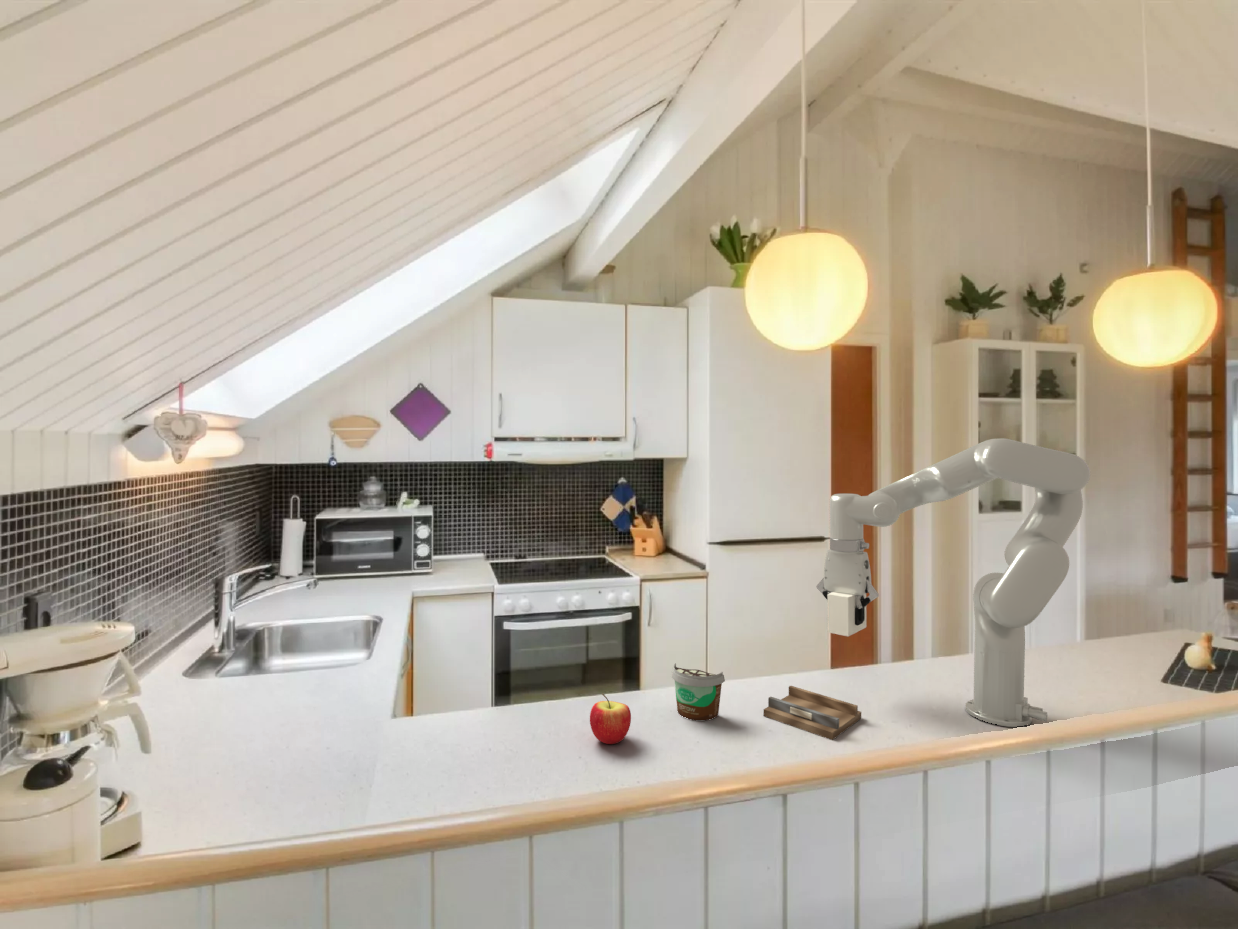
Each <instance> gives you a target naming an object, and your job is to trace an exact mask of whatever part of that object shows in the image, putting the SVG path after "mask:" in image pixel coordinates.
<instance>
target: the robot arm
mask: <svg viewBox="0 0 1238 929" xmlns="http://www.w3.org/2000/svg"><path fill="white" fill-rule="evenodd" d="M1090 478H1091V469H1090V467H1089V465H1088V463H1087V461H1085V460H1084V459H1083V458H1082V457H1081V456H1080V455H1077V454H1074V453H1071V452H1067V451H1061V450H1058V449H1057V450H1056V449H1052V448H1049V447H1048V448H1047V447H1043V446H1039V445H1034V444H1030V443H1026V442H1022V441H1018V440H1014V439H1009V438H991V439H985V440H984V441H982V442H979V443H977V444H974V445H972V446H970V447H968V448H966V449H964V450H961V451H960V452H957V453H956V454H953V455H951V456H949V457H947V458H945V459H942V460H940V461H938V462H935V463H934V464H931V465H929V466H927V467H924V468H922V469H920V470H919V471H917V472H914V473H912V474H910V475H908V476H906V477H903V478H901V479H899V480H896V481H894V482H891V483H890V484H888V485H885V486H884V487H881V488H879V489H877V490H875V491H873V492H871V493H869V494H868V495H862V496H861V495H860V494H858V493H834V494H832V495H831V496H830V499H829V549H828V550H827V551H826V556H825V559H824V560H825V561H824V569H823V578H822V579H821V580H820V581H819V583H818V584H817V585H816V589H817V590H818V591H819V592H820V593H821V594H822V595H823V597H824V598H825V600H827V594H829V593H832V592H838V593H844V594H851V595H855V602H856V605H857V608H855V625H860V624H862V623H863V621H864V619H865V606H866V607H867V606H868V605H869V604H870V603H871V602H872V601H874V600H875V599H877V598H878V597H880V594H879V593H878V591H877V590H876V589H875V587H874V586H873V584H872V574H871V573H872V572H871V566H870V564H871V563H870V559H869V555H868V552H867V551H865V549H866V550H867V549H868V550H869V549H870V543H869V542H866V541H865V539H864V525H865V526H866V525H867V526H873V527H881V528H883V527H884V528H885V527H886V528H887V527H890V526H892V525H894V524H895V523H896V522H897V521H898V520H899V518H900V515H901V514H903V513H905V512H907V511H910V510H913V509H915V508H918V507H921V506H924V505H926V504H931V503H939V502H944V501H945V502H946V501H947V500H948V501H949V500H951V499H954V498H957V497H958V496H960V495H962V494H964V493H966V492H969V491H971V490H974V489H976V488H978V487H980V486H982V485H983V486H984V485H986V484H988V483H989V482H990V483H991V482H992V481H994V480H997V479H1000V480H1004V481H1008V482H1012V483H1016V484H1019V485H1023V486H1027V487H1030V488H1034V492H1035V501H1034V505H1033V506H1032V508H1031V510H1030V511H1029V514H1028V515H1027V516H1026V518H1025V519H1024V521H1023V523H1022V524H1021V526H1020V527H1019V528H1018V529H1017V531H1016V533H1015V534H1014V535H1013V537H1012V538H1011V539H1010V541H1009V542H1008V544H1007V545H1006V546H1005V550H1004V560H1005V561H1006V563H1007V565H1008V567H1007V568H1006V569H1005V571H1004V572H991V573H990V572H989V573H987V574H985V575H983V576H981V577H980V578H979V579H978V581H977V582H976V583H975V586H974V589H973V594H972V595H973V597H972V600H973V611H974V658H973V659H974V660H973V661H974V663H973V667H974V668H973V699H970V700H968V701H966V703H965V712H967V714H968V715H970V716H971V717H973V718H975V717H976V719H977V718H978V719H977V720H980V721H982V720H983V721H982V722H984V721H985V723H987V722H988V724H991V723H992V724H991V725H995V724H997V725H996V726H1000V727H1008V728H1018V727H1017V726H1023V727H1025V726H1024V725H1027V724H1029V725H1031V724H1032V721H1033V719H1035V720H1038V721H1042V722H1046V723H1047V722H1048V721H1047V720H1048V712H1047V711H1044V708H1043V707H1042V708H1041V707H1038V706H1032V705H1031V704H1030V703H1028V702H1029V701H1028V700H1029V699H1028V697H1025V666H1026V665H1025V660H1026V653H1025V652H1026V629H1025V628H1026V626H1028V625H1030V624H1031V623H1033V622H1034V621H1035V620H1036V619H1037V618H1038V616H1040V615H1041V613H1042V612H1043V610H1044V608H1045V607H1046V606H1047V605H1048V604H1049V602H1050V601H1051V600H1052V598H1053V596H1054V595H1055V593H1056V592H1057V591H1058V589H1059V588H1060V586H1061V585H1062V584H1063V582H1064V581H1065V579H1066V577H1067V575H1068V572H1069V569H1070V557H1069V555H1068V552H1067V550H1066V549H1065V548H1064V546H1065V545H1066V543H1067V542H1068V540H1069V538H1070V537H1071V535H1072V534H1073V532H1074V530H1075V529H1076V527H1077V526H1078V524H1079V521H1080V519H1081V517H1082V513H1083V505H1084V504H1083V502H1084V501H1083V494H1082V490H1083V489H1084V488H1085V487H1086V486H1087V485H1088V483H1089V481H1090ZM864 593H866V594H869V595H868V596H866V598H865V597H864ZM1027 726H1028V725H1027Z"/></svg>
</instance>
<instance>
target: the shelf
mask: <svg viewBox="0 0 1238 929" xmlns="http://www.w3.org/2000/svg"><path fill="white" fill-rule="evenodd" d="M767 701H768V702H767V704H768V706H767V707H765V708H763V717H765V718H768V719H771V720H774V721H776V722H780V723H783V724H785V725H789V726H791V727H794V728H797V729H800V730H802V731H806V732H808V733H811V734H814V735H817V736H820V737H823V738H825V737H826V739H828V738H829V739H828V740H831V741H834V739H836V738H837V737H839V736H840V735H841V734H842V733H844V732H845V731H847V730H848V729H849V728H851V727H852V726H853V725H855V724H856V723H857V722H858V720H859V721H860V720H861V719H862V711H860V710H859V709H858V708H859V707H858V705H857V704H853V703H850V702H847V701H844V700H841V699H837V698H834V697H831V696H827V695H823V694H820V693H817V692H813V691H811V690H808V689H804V688H800V687H797V686H793V685H789V686H788V695H787V696H784V697H783V698H781V699H779V698H776V697H774V696H769V697H768V700H767ZM835 737H836V738H835Z"/></svg>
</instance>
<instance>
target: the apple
mask: <svg viewBox="0 0 1238 929" xmlns="http://www.w3.org/2000/svg"><path fill="white" fill-rule="evenodd" d="M601 695H602V696H603V697H604V698H605V700H600V701H597V702H595V703H594V704H593V705H592V707H591V709H590V713H589V724H590V729H591V731H592V733H593V735H594V737H595V738H596V739H597V741H600V743H603V744H605V745H614V744H615V745H616V744H618V743H620V742H621V741H623V740H624V739H625V737H626V736H627V734H628V732H629V731H630V727H631V723H632V722H631V721H632V713H631V709H630V707H629V706H628V705H627V704H625V703H622V702H618V701H613V700H609V698H607V696H606V695H605V694H604V693H603V692H602V693H601Z"/></svg>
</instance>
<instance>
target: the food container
mask: <svg viewBox="0 0 1238 929" xmlns="http://www.w3.org/2000/svg"><path fill="white" fill-rule="evenodd" d="M670 675H671V676H670V677H671V678H672V680H674V689H675V699H676V710H677V711H678V712H677V711H676V712H677V713H678V715H679V714H680V715H681V716H680V715H679V716H680V717H682V716H683V717H682V718H684V717H686V718H688V719H687V720H690V719H692V720H691V721H696V720H705V721H710V720H709V719H711V720H713V719H715V718H714V717H716V718H717V717H718V716H719V712H720V711H719V710H720V703H721V702H720V701H721V694H722V684H723V683H724V682H726V681H725V680H726V679H725V675H724V671H721V672H720V673H718V674H716V673H715V674H714V673H709V672H706V671H703V670H701V669H688V668H681V667H677V663H674V664H673V667H672V671H671V674H670ZM686 718H685V719H686ZM712 718H713V719H712Z"/></svg>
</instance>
